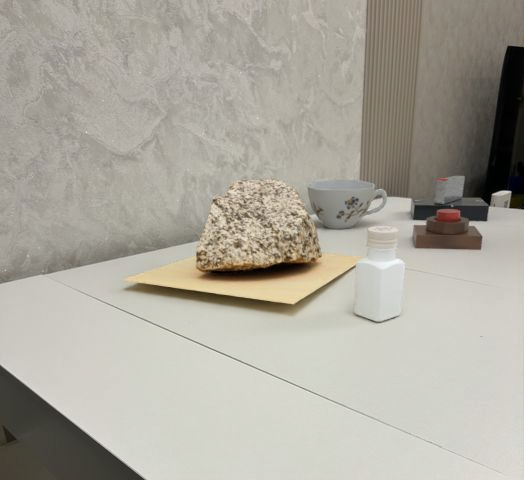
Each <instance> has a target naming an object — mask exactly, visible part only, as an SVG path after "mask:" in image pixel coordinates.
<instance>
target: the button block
mask: <svg viewBox="0 0 524 480" xmlns="http://www.w3.org/2000/svg"><path fill="white" fill-rule="evenodd" d="M483 237H484V236H483V235H482V233H481V232H480V231H479V230H478V229H477V227H476V226H475V225H470V221H469V220H468V218H464V217H460V219H459V221H456V222H444V221H437V220H436V216H431V217H428V218H427V220H425V224H413V226H412V241H413V244H414V248H415V249H426V250H427V249H429V250H432V249H433V250H469V251H471V250H472V251H481V250H482V245H483Z"/></svg>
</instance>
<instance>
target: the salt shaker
mask: <svg viewBox="0 0 524 480" xmlns="http://www.w3.org/2000/svg"><path fill="white" fill-rule="evenodd" d="M399 232H400V230H399V228H398V227H394V226H387V225H376V226H375V225H374V226H370V227H368V228H367V232H366V234H367V236H366V246H365V247H366V256H363V257H364V258H362V259H360V260H358V262H357V263H356V265H355V276H354V293H353V294H354V297H353V312H354V314H355V315H357V316H360V317H363V318H366V319H368V320H371V321H374V322H376V323H377V322H378V323H380V322H384V321H386V320H389V319H392V318H396V317H398V316H400V315H401V313H402V310H403V309H402V308H403V299H404V287H405V275H406V263H405V261H403V259H400V258H399V257H397V249H398V247H399V236H400V235H399V234H400V233H399Z"/></svg>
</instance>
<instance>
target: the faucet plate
mask: <svg viewBox="0 0 524 480" xmlns="http://www.w3.org/2000/svg"><path fill="white" fill-rule="evenodd" d="M434 201H435V197H433V196H432V197H419V196H417V197H415V196H414V197H413V196H412V197H411V199H410V212H409V213H410V215H411V219H412V220H413V221H426V220H427V218H428V217H431V216H437V210H440V209H455V210H459V211H460V217H464V218H468V220H469V222H488V218H489V217H488V216H489V210H490V205H489V204H488V203H487V202H486V201H484V199H482V198H481V197H462V199H459V200H456V201H453V202H450V203H446V204H434Z"/></svg>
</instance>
